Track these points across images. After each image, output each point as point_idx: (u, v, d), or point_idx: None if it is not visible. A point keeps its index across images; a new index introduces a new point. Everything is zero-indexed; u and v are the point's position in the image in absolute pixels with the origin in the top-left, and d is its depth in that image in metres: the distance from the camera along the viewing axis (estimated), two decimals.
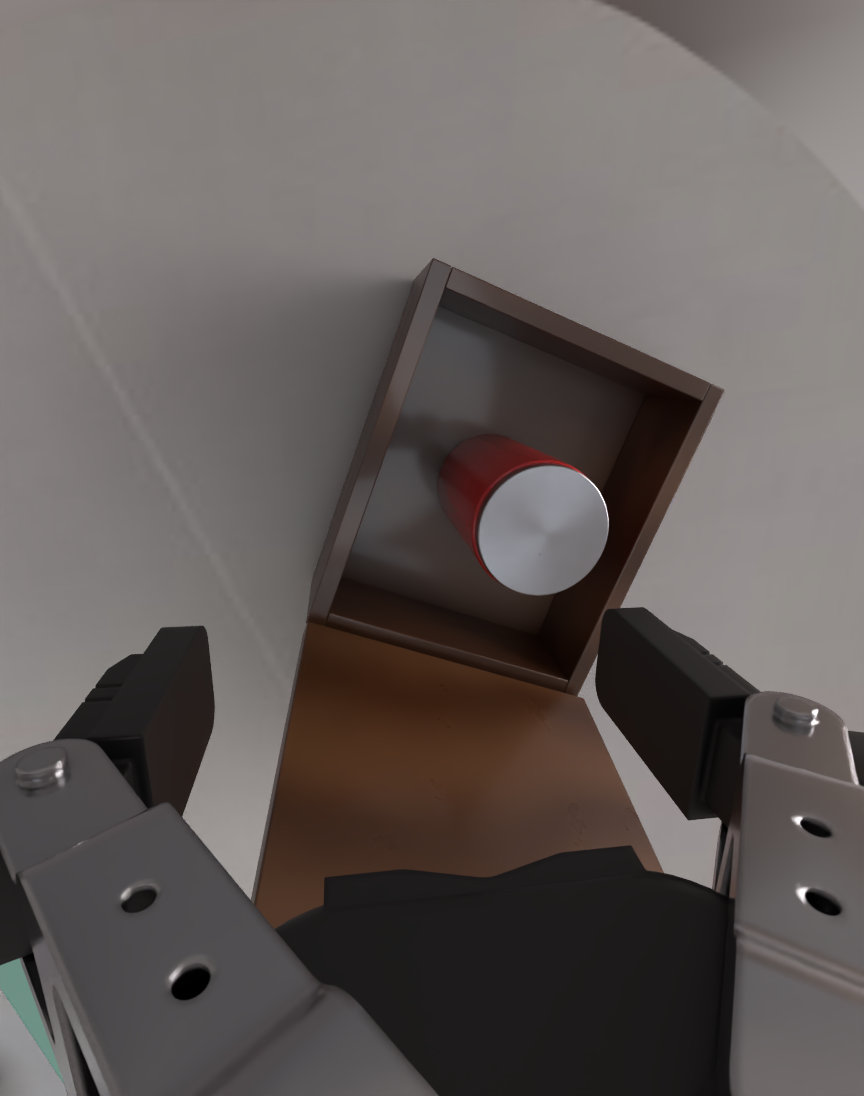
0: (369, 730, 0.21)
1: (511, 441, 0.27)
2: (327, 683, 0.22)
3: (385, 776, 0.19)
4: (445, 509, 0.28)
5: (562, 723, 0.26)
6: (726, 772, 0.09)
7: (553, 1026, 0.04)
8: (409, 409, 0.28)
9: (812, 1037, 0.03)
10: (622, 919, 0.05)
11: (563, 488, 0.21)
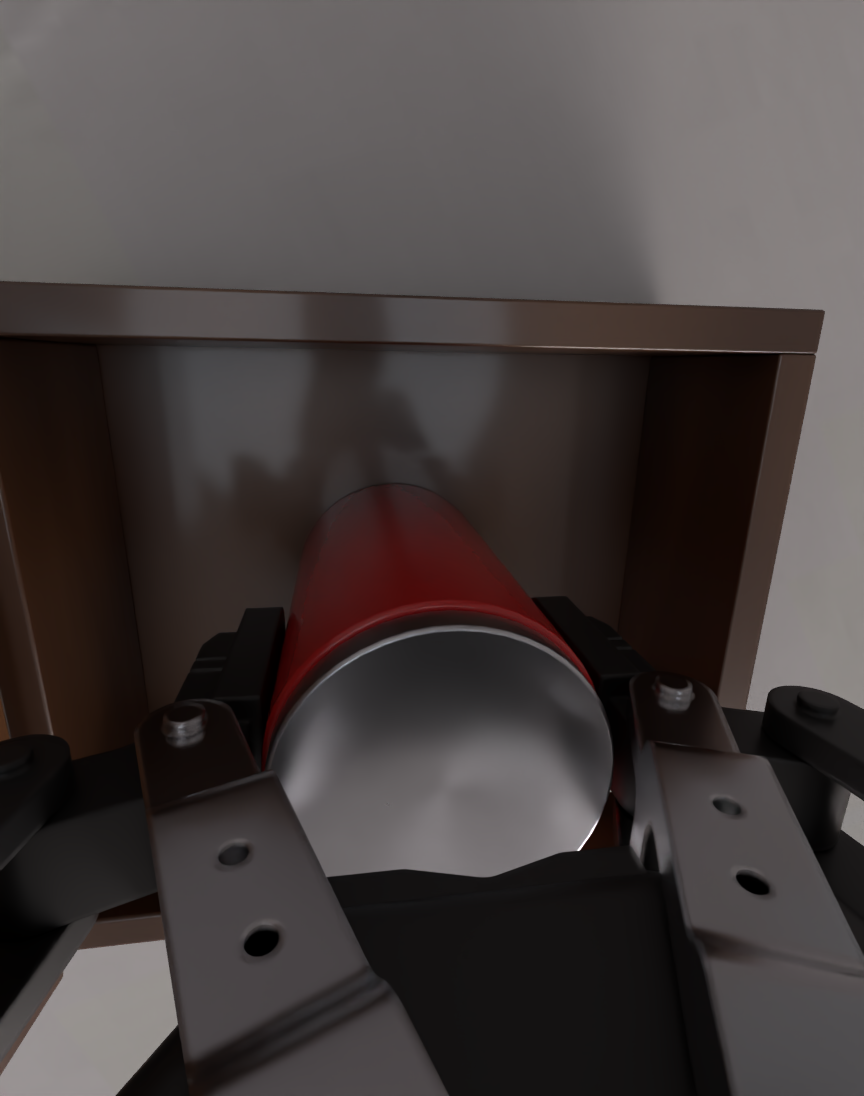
0: None
1: None
2: None
3: None
4: (333, 521, 0.14)
5: None
6: (615, 747, 0.09)
7: (553, 1026, 0.04)
8: (473, 390, 0.16)
9: (792, 1038, 0.03)
10: (622, 919, 0.05)
11: (566, 779, 0.08)
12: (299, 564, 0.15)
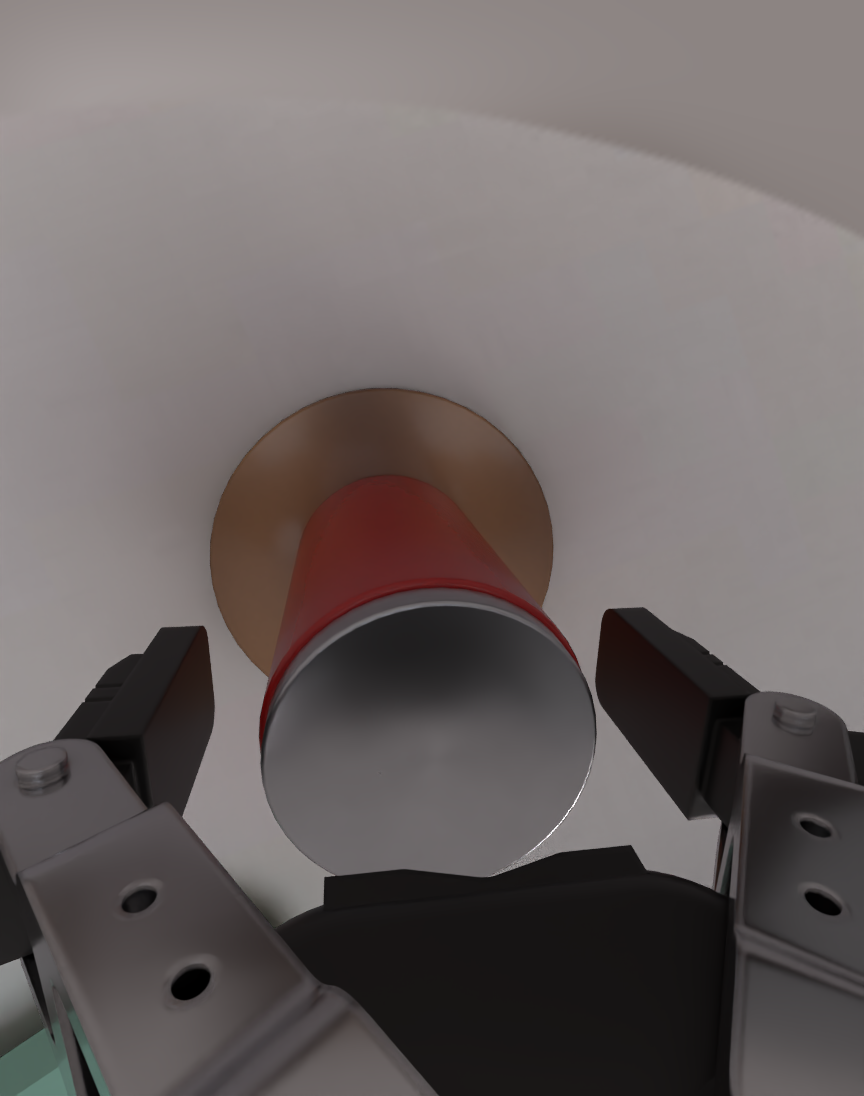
0: None
1: None
2: None
3: None
4: (330, 510, 0.14)
5: None
6: (726, 772, 0.09)
7: (553, 1026, 0.04)
8: None
9: (812, 1036, 0.03)
10: (622, 919, 0.05)
11: (550, 750, 0.09)
12: (297, 552, 0.15)
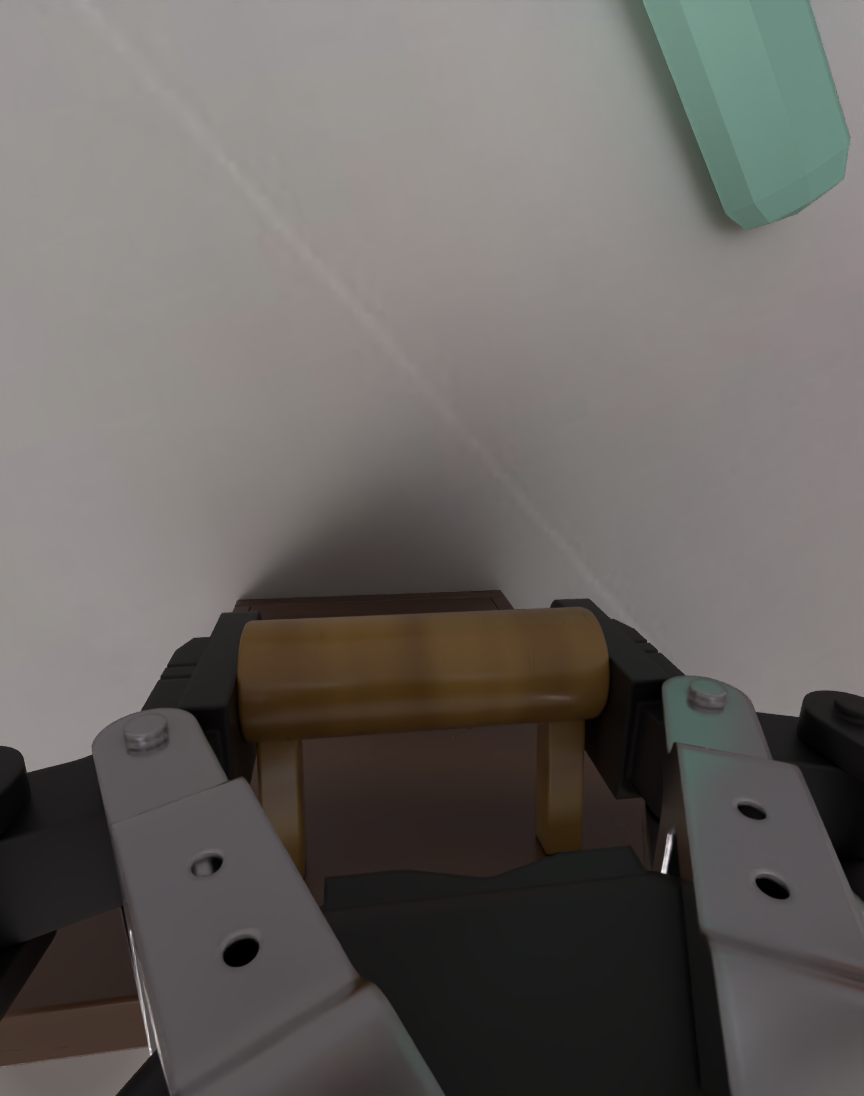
0: None
1: None
2: None
3: None
4: None
5: None
6: (647, 752, 0.09)
7: (553, 1026, 0.04)
8: None
9: (797, 1037, 0.03)
10: (622, 919, 0.05)
11: None
12: None
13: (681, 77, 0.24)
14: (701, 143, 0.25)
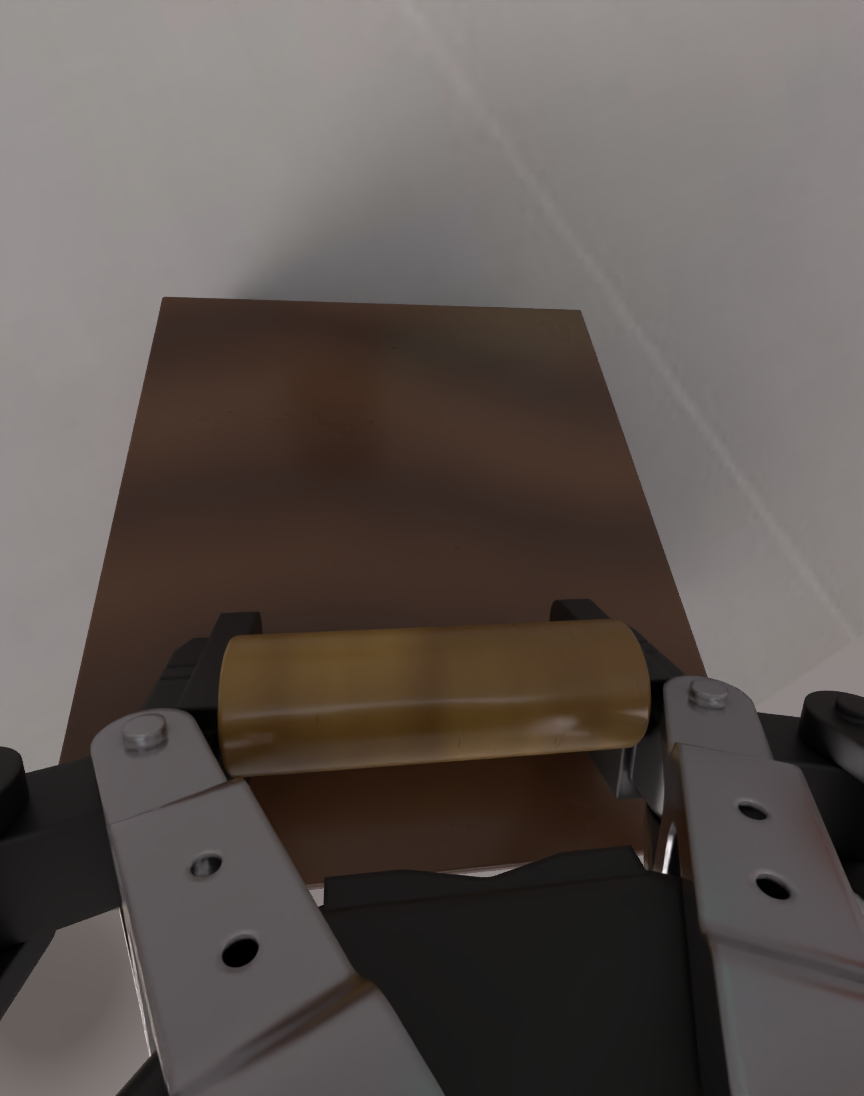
0: None
1: None
2: None
3: None
4: None
5: None
6: (648, 753, 0.09)
7: (553, 1026, 0.04)
8: None
9: (798, 1037, 0.03)
10: (622, 919, 0.05)
11: None
12: None
13: None
14: None
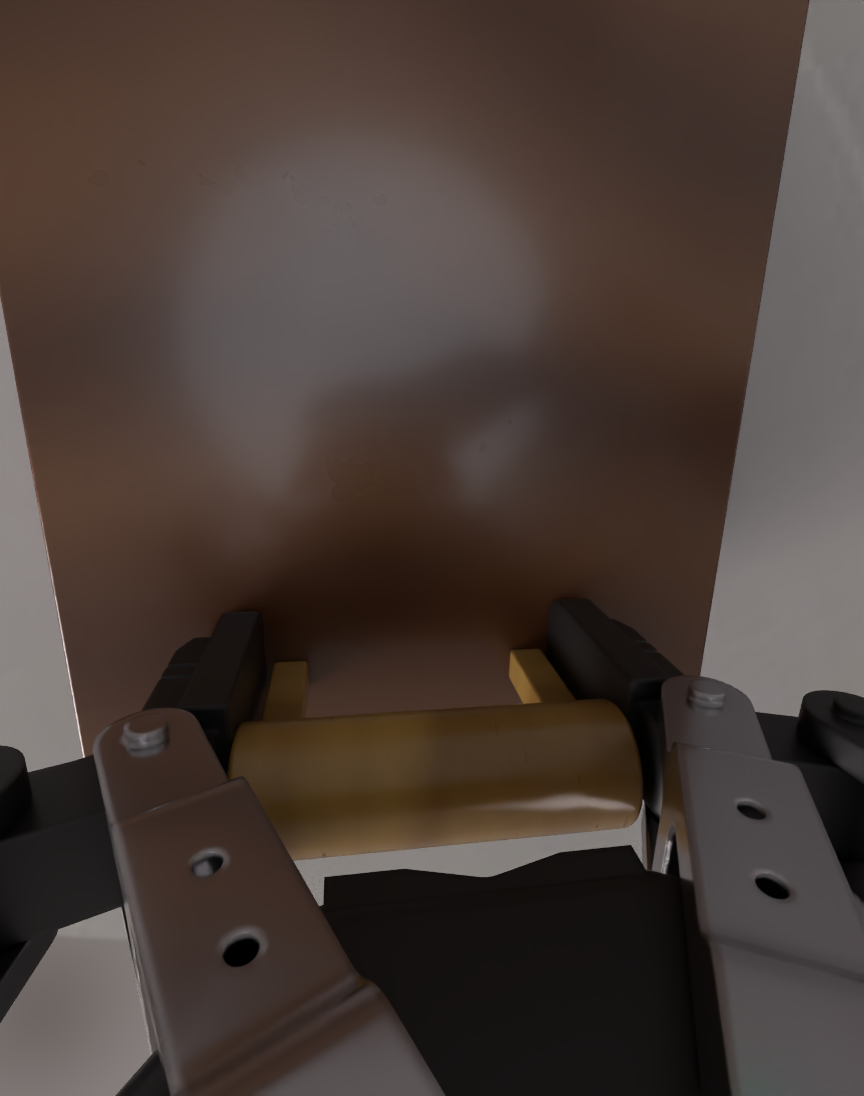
0: None
1: None
2: None
3: None
4: None
5: None
6: (646, 752, 0.09)
7: (553, 1026, 0.04)
8: None
9: (798, 1037, 0.03)
10: (622, 919, 0.05)
11: None
12: None
13: None
14: None
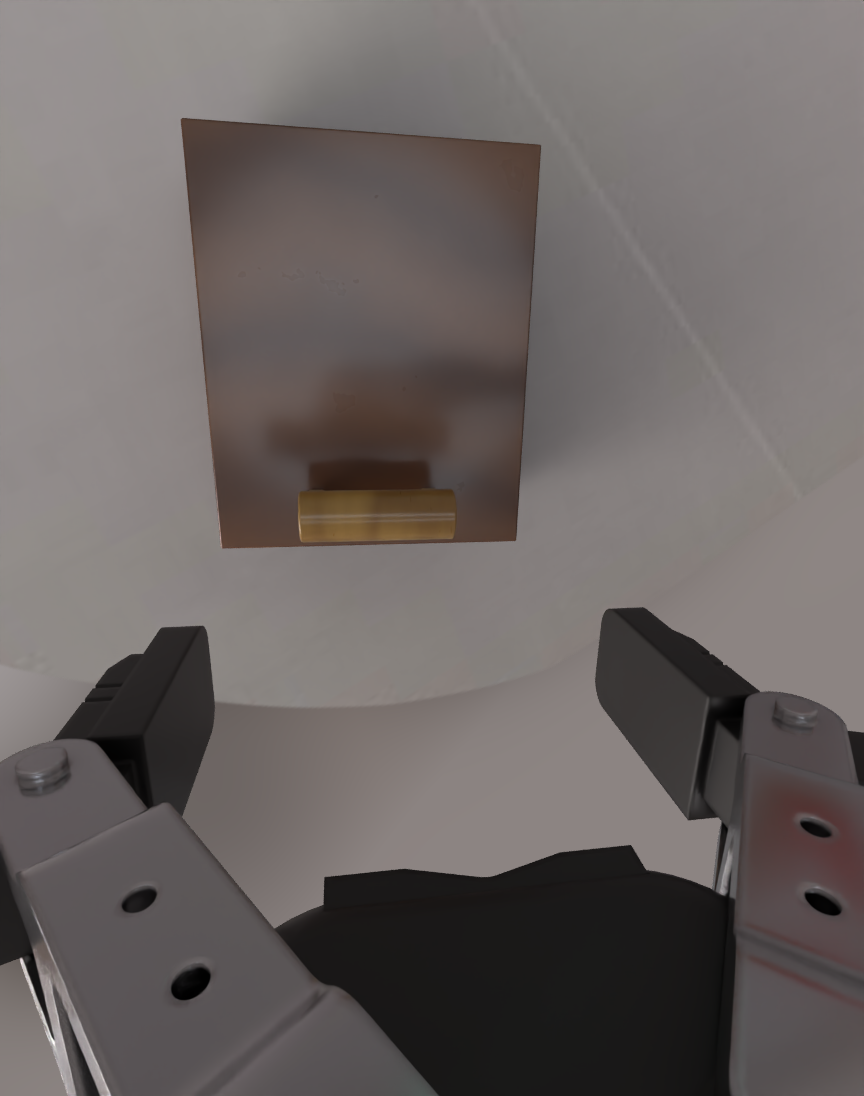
0: None
1: None
2: None
3: None
4: None
5: None
6: (726, 772, 0.09)
7: (553, 1026, 0.04)
8: None
9: (811, 1036, 0.03)
10: (622, 919, 0.05)
11: None
12: None
13: None
14: None
